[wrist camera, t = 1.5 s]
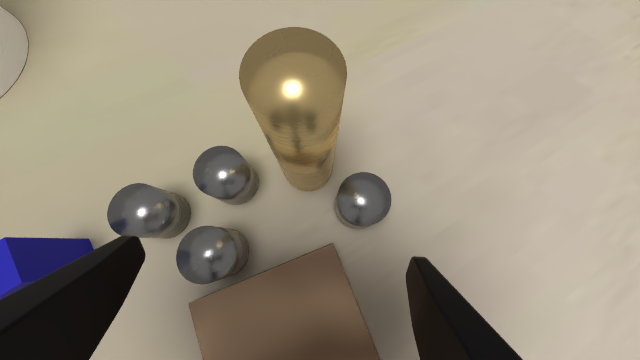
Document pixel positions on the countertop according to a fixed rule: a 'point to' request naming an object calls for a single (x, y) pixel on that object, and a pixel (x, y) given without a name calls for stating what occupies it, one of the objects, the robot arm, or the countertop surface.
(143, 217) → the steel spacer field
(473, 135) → the countertop surface
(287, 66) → the cylinder
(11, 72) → the cylinder
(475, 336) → the robot arm
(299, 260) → the brown wooden board
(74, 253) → the cable clip
